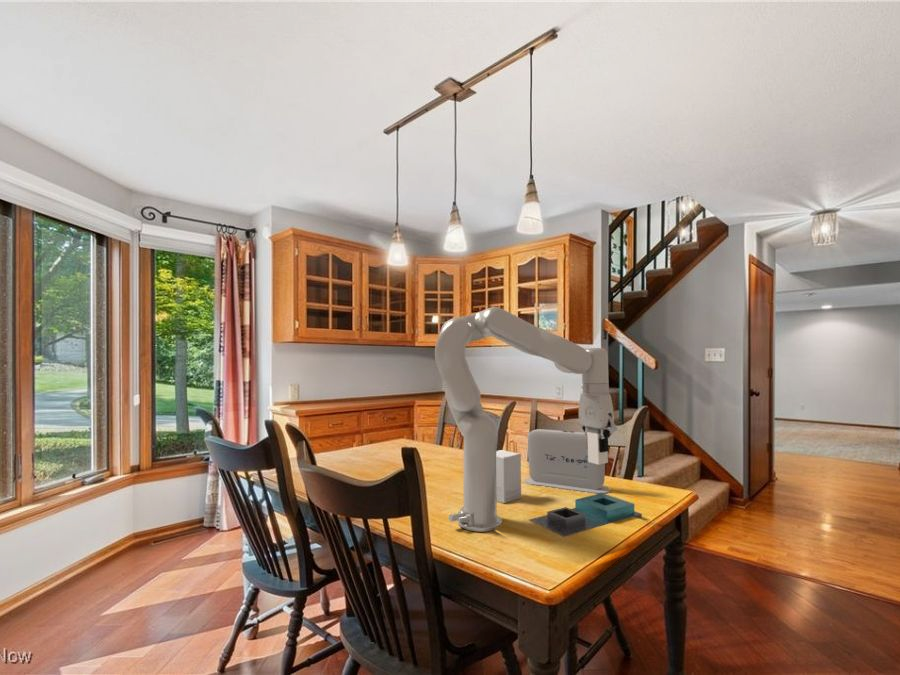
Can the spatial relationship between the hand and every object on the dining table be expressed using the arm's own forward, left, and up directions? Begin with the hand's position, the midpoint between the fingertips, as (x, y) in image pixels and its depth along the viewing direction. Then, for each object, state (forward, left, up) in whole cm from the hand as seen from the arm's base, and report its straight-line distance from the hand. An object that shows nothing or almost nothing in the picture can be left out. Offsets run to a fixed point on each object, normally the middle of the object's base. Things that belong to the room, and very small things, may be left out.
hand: (597, 449), depth 137 cm
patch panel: (-5, 0, -20) cm, 21 cm away
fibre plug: (0, 0, -4) cm, 4 cm away
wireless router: (+15, +28, -20) cm, 38 cm away
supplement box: (-13, +29, -20) cm, 38 cm away
